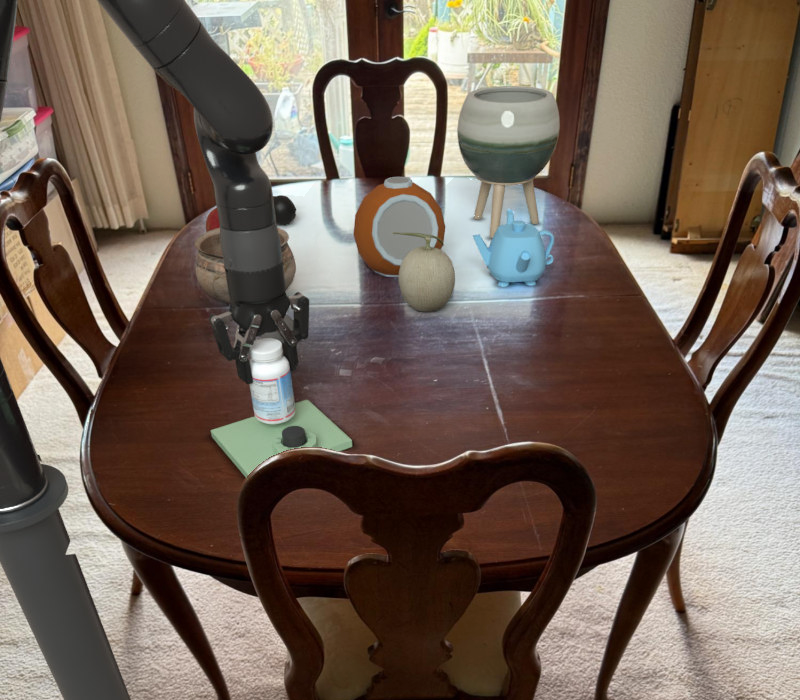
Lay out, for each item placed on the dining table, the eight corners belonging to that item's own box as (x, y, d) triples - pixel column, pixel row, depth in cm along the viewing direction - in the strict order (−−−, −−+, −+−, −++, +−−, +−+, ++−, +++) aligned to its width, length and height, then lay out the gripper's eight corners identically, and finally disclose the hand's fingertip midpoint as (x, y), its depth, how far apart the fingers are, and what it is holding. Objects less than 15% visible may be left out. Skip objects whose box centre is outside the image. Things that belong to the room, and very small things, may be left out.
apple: (241, 249, 176) (235, 212, 171) (205, 249, 176) (199, 213, 171) (246, 237, 182) (241, 201, 177) (212, 238, 182) (206, 202, 177)
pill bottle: (281, 400, 118) (272, 331, 111) (303, 416, 115) (295, 345, 108) (246, 414, 116) (235, 344, 108) (268, 430, 112) (258, 359, 105)
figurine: (265, 193, 182) (269, 181, 197) (262, 223, 185) (266, 209, 200) (298, 200, 183) (299, 188, 198) (294, 230, 186) (295, 215, 202)
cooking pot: (209, 280, 162) (198, 220, 154) (300, 275, 163) (294, 215, 155) (195, 332, 143) (181, 266, 135) (298, 327, 144) (291, 261, 136)
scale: (253, 487, 106) (250, 468, 104) (211, 437, 115) (208, 419, 113) (356, 450, 112) (354, 432, 110) (308, 405, 122) (306, 388, 120)
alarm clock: (362, 286, 158) (357, 197, 147) (349, 255, 171) (344, 171, 160) (453, 277, 161) (456, 189, 150) (434, 248, 174) (435, 165, 163)
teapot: (463, 278, 160) (465, 222, 153) (505, 260, 167) (509, 205, 160) (522, 299, 152) (527, 240, 144) (564, 279, 159) (571, 222, 152)
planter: (454, 212, 193) (457, 84, 175) (544, 211, 192) (556, 83, 174) (455, 243, 176) (459, 106, 158) (554, 243, 175) (569, 104, 157)
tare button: (289, 451, 107) (287, 440, 106) (279, 440, 109) (277, 430, 108) (310, 444, 109) (308, 433, 108) (299, 433, 111) (298, 423, 110)
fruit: (466, 303, 151) (469, 223, 141) (434, 324, 143) (435, 243, 134) (421, 291, 155) (421, 214, 146) (388, 312, 148) (385, 232, 139)
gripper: (290, 238, 106) (302, 352, 116) (189, 261, 100) (211, 378, 111) (315, 255, 101) (326, 372, 111) (211, 279, 95) (232, 400, 106)
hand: (269, 375), depth 111 cm, fingers closed on pill bottle, 6 cm apart
